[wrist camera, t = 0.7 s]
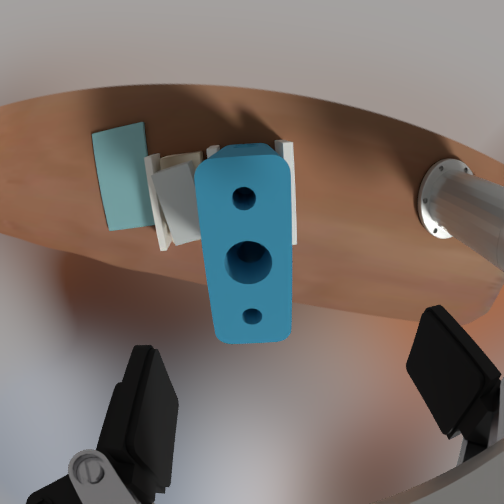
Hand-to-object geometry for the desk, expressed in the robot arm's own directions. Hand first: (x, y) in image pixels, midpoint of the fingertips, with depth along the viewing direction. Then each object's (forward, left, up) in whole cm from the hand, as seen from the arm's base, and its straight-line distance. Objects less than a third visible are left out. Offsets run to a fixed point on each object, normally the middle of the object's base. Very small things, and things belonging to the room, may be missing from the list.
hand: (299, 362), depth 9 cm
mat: (+15, -3, -28) cm, 32 cm away
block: (0, 0, -28) cm, 28 cm away
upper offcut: (+7, 0, -25) cm, 26 cm away
